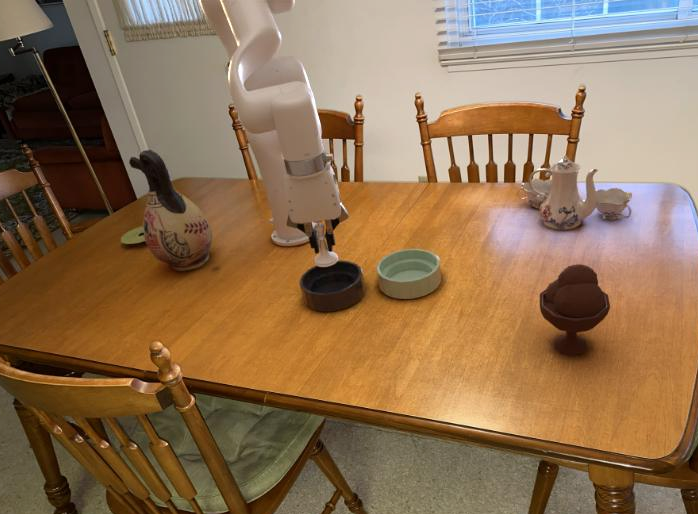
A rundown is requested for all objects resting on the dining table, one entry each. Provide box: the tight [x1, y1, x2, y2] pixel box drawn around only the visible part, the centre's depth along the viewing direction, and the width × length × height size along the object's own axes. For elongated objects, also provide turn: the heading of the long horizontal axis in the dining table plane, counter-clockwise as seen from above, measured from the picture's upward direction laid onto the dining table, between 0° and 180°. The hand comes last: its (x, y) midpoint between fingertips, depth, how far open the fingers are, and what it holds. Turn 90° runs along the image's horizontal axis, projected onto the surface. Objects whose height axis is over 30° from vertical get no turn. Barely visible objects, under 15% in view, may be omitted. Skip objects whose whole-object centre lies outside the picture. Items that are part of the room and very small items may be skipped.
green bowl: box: [375, 248, 442, 300], centre depth 116 cm, size 13×13×4 cm
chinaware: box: [516, 155, 633, 231], centre depth 128 cm, size 28×17×17 cm, turn 58°
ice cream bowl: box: [539, 263, 611, 357], centre depth 90 cm, size 11×11×15 cm
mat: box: [120, 225, 146, 245], centre depth 154 cm, size 11×11×2 cm
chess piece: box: [314, 221, 339, 267], centre depth 111 cm, size 5×5×10 cm
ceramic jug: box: [128, 149, 213, 272], centre depth 130 cm, size 17×15×30 cm
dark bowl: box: [299, 260, 366, 312], centre depth 116 cm, size 13×13×4 cm
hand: (324, 248), depth 112 cm, fingers closed on chess piece
